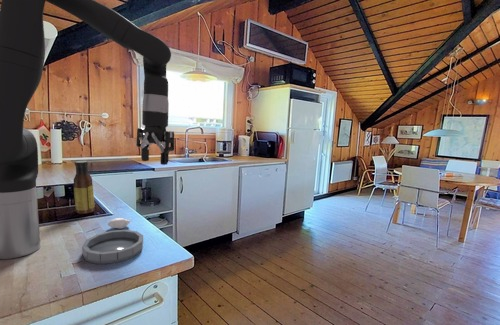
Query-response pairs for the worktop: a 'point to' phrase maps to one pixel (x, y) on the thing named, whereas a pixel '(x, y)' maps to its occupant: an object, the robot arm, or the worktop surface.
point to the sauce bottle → (83, 189)
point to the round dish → (112, 246)
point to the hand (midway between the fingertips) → (154, 162)
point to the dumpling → (118, 223)
